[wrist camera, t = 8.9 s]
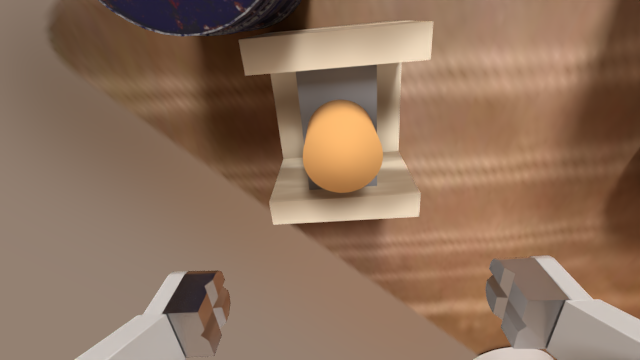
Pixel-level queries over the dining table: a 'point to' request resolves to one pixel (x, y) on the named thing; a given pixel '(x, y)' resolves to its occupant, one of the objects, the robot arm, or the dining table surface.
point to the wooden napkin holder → (339, 84)
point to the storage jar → (202, 15)
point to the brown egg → (341, 147)
